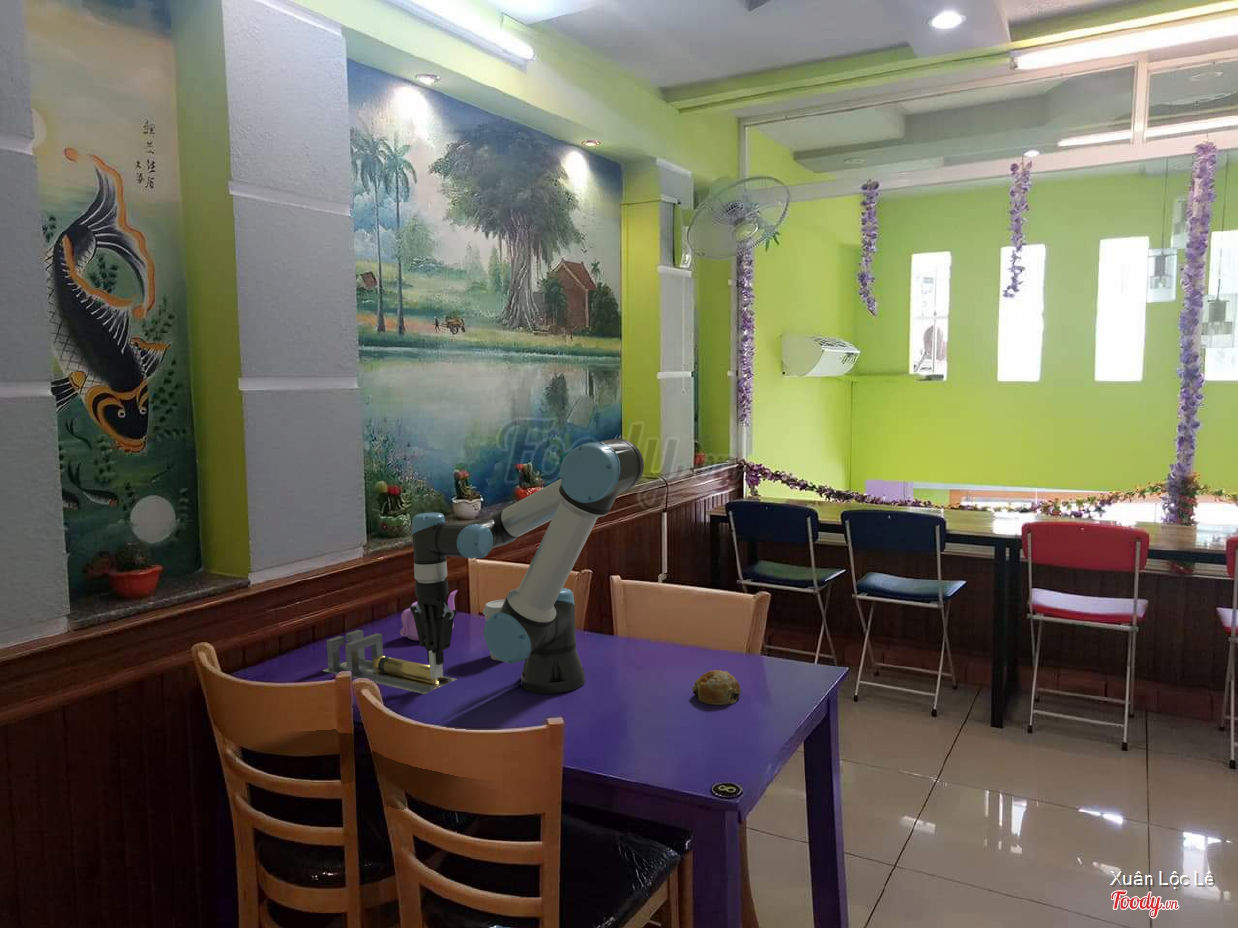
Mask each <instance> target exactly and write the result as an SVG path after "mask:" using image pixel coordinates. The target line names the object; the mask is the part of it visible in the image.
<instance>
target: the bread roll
mask: <svg viewBox="0 0 1238 928" xmlns="http://www.w3.org/2000/svg"><path fill="white" fill-rule="evenodd" d="M691 691H692V693H693V695H695V697H694V698H696V700H697V701H699V702H700V703H702V704H705V705H708V706H709V705H713V706H725V705H734V704H735V703H736V702H737V700H738V699H739V697H740V695H741V686H740V683H739V681H738V679H736V677H735V676H734V675H732V674H731V673H729V671H727V670H725V671H724V670H720V669H716V670H715V669H713V670H709V671H707V672H705V673H703V674H701V675H700V676H699V678H697V679H696V680H695V681H694V685H693V686H692V688H691Z"/></svg>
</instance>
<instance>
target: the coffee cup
mask: <svg viewBox="0 0 1238 928" xmlns="http://www.w3.org/2000/svg"><path fill="white" fill-rule="evenodd" d="M504 601H505V599H496V600H491V601H489V602H486V604H485V606H484V608H483V611H482V614H483V615H484V617H485V622H486V621H487V620H488V619H489V618H490V617H491V616H492V615H493V614H494V613H497V612H499V611H500V609H501V608H502V605H503V603H504ZM489 652H490V651H489ZM490 658H491V660H494V661H500V660H499V659H497V658H496V657H495V656H494V655H493V654H492V653H491V652H490Z"/></svg>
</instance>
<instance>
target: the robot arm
mask: <svg viewBox="0 0 1238 928" xmlns="http://www.w3.org/2000/svg"><path fill="white" fill-rule="evenodd" d="M644 460H645V459H644V457H643V454H642V451H640V449H639V448H638V447H637V445H635V444H634V443H632V442H631V441H629V440H627V439H623V438H610V439H607V440H602V441H589V442H585V443H583V444H580V445H579V446H577V447H575V448H573V449H572V450H570V451H569V452H568V453H567V454H566V456H565V457H564V459H563V460H562V463H561V466H560V468H559V469H560V470H559V478H560V479H558V480H556V481H554V482H552V483H550V484H549V485H547V486H545V487H542V488H541V489H539V490H537V491H535V492H533V493H532V494H529V495H528V496H526V497H524V498H523V499H519V500H517V501H516V502H514V503H512V504H511V505H509V506H507V507H505V508H503V509H501V510H500V511H498V512H496V513H494V514H492V515H490V516H486V517H484V518H481V519H477V520H473V521H469V522H466V523H449V522H448V523H447V522H446V519H445V515H444V514H443V513H442V512H424V513H418V514H416V515H414V516H413V517H412V520H411V538H412V547H413V548H412V550H413V569H414V570H413V572H414V574H413V576H414V579H415V582H414V585H415V586H414V589H415V592H414V593H415V597H416V598H418V599H417V601H416V602H417V604H416V605H414V606H411V605H410V606H411V607H410V606H409V608H410V610H411V612H412V614H413V616H414V621H415V625H416V630H417V634H418V638H419V646H420V647H422V648H425V650H426V652H427V663H429V664H428V665H430V678H431V679H437V678H439V677H441V676H444V671H443V664H444V662H445V660H444V651H445V650H447V649H449V648H450V647H451V641H452V635H453V629H454V627H453V623H454V621H455V620H454V619H455V618H456V616H457V610H456V609H455V610H451V609H450V608H449V607H448V600H447V596H448V594H449V580H448V579H447V577H448V565H447V563H448V562H447V558H448V557H455V558H456V557H457V558H464V559H465V558H466V559H471V560H472V559H483V558H485V557H487V556H488V555H489V553H490V552H491V551H492V550H493V549H494V548H498V547H501V546H505V545H508V544H510V543H512V542H514V541H515V540H517V539H518V538H519V537H521V536H522V535H524V534H527V533H529V532H530V531H532V530H535V529H536V528H538V527H541V526H542V525H544V524H546V523H549V522H550V523H549V524H548V527H547V529H546V531H545V533H544V535H543V537H542V540H541V541H540V542H539V545H538V548H537V549H536V551H535V554H534V556H533V557H532V560H531V562H530V564H529V566H528V568H527V570H526V571H525V574H524V576H523V578H522V580H521V582H520V585H519V586H518V587H517V588H513V589H511V590H510V591H509V592H508V594H507V596H506V598H505V599H504V600H505V601H504V603H503V605H502V608H501V609H500V611H499V612H497V613H494V614H493V615H492V616H491V617H490V618H489V619H488V620H487V621H486V620H485V624H484V626H483V627H484V628H483V637H484V638H483V639H484V641H485V642H486V647H487V649H488V650H489V652H491V653H492V654H493V655H494V656H495V657H496V658H497V659H499V660H498V661H501V662H503V663H506V664H516V663H519V662H522V661H524V665H523V668H522V672H521V675H520V676H521V677H520V679H521V681H520V682H521V683H520V684H521V687H522V688H523V689H524V690H525V691H528V692H530V693H536V694H545V695H549V694H562V693H566V692H570V691H573V690H577V689H579V688H580V687H582V686H583V685H584V684H585V682H586V678H585V677H586V673H585V670H584V668H583V665H582V662H581V659H580V656H579V653H578V651H577V641H576V640H577V635H576V634H577V633H576V610H575V609H576V608H575V607H576V603H575V599H574V592H573V590H571V589H569V588H566V587H564V585H565V584H566V582H567V580H568V578H569V576H570V574H571V571H572V570H573V568H574V566H575V563H576V562H577V560H578V558H579V556H580V554H581V551H582V550H583V548H584V546H585V544H586V543H587V540H588V538H589V536H590V534H591V533H592V530H593V528H594V526H595V524H596V523H597V520H598V518H602V517H605V516H607V515H608V514H609V513H610V511H611V509H612V506H613V505H614V503H615V501H616V499H617V497H618V495H619V494H620V493H624V492H626V491H628V490H631V489H632V488H633V487H635V486H636V485H638V484H639V482H640V480H641V479H642V477H643V474H644V470H645V462H644ZM452 628H453V629H452ZM424 640H425V641H424ZM491 653H490V654H491Z"/></svg>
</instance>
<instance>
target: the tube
mask: <svg viewBox="0 0 1238 928" xmlns="http://www.w3.org/2000/svg"><path fill="white" fill-rule="evenodd" d="M373 669H374V671H376V672H381V673H385V674H390V675H394V676H399V677H404V678H408V679H413V680H417V681H422V682H427V683H431V684H438V683H439V682H440V681H441V680H442V677H443V676H444V675H443V676H441V677H439V678H437V679H431V678H430V665H429V664H424V663H419V662H415V661H411V660H410V661H409V660H405V659H401V658H400V659H399V658H394V657H390V656H385V655H383V656H377V657H376V658H375V659H374V661H373Z"/></svg>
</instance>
